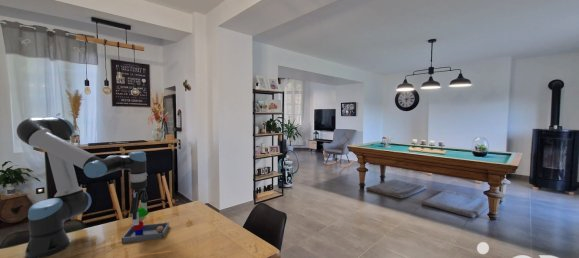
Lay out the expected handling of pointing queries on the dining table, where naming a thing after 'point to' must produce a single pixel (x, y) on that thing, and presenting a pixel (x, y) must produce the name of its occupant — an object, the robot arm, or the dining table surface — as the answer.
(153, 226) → the tray
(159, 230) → the ball
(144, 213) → the toy
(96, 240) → the dining table surface
